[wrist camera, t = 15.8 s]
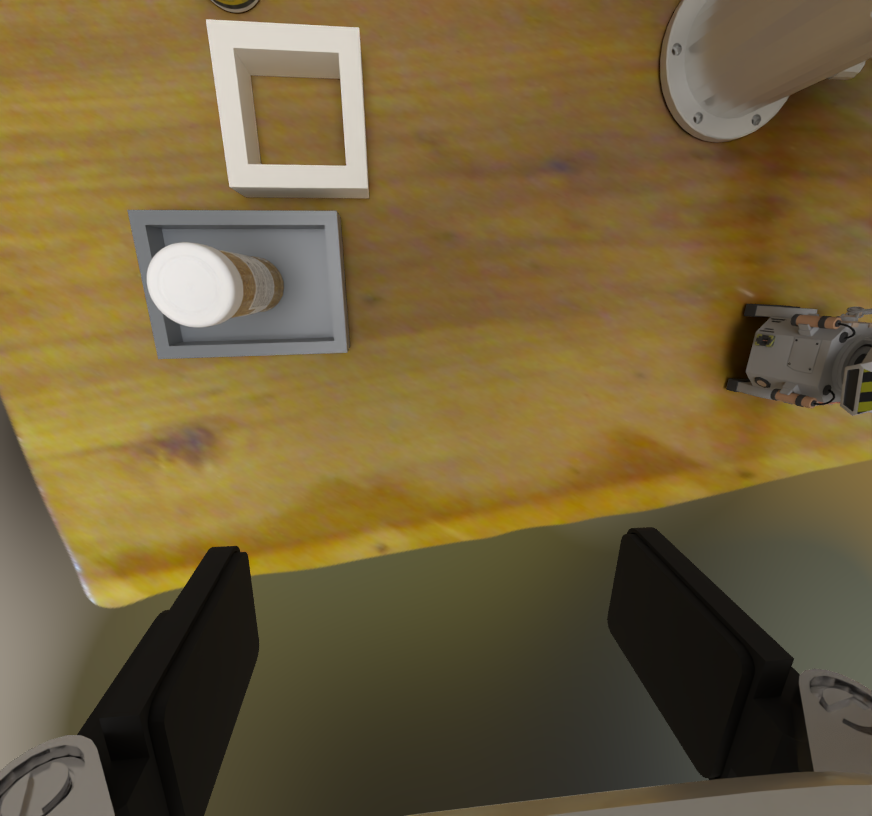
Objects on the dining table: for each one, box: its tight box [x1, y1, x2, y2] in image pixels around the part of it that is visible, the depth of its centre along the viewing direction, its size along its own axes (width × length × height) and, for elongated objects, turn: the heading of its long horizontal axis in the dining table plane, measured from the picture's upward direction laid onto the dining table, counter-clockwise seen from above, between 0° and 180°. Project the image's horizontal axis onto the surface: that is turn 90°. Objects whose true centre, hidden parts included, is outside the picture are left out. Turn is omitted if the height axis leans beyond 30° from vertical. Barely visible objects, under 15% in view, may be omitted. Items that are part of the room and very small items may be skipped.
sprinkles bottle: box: [147, 242, 284, 327], centre depth 29 cm, size 5×5×13 cm
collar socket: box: [206, 19, 369, 198], centre depth 32 cm, size 10×10×4 cm
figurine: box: [726, 304, 872, 416], centre depth 37 cm, size 9×12×15 cm
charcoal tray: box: [128, 210, 350, 359], centre depth 35 cm, size 15×11×4 cm
